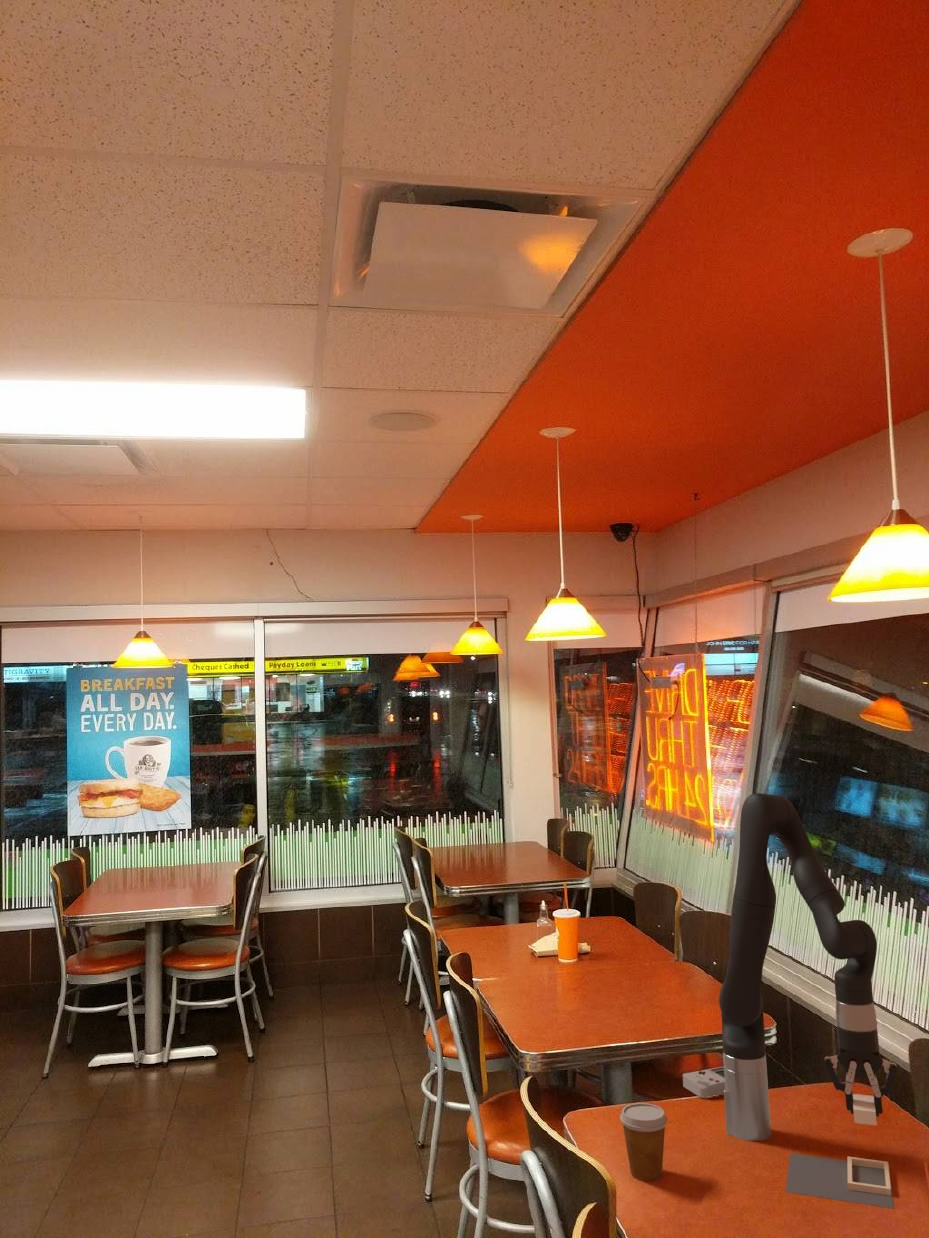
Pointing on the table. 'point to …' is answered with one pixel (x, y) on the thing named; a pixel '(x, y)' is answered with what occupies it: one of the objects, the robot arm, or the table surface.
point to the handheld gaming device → (705, 1082)
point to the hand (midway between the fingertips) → (864, 1113)
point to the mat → (841, 1179)
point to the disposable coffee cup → (644, 1139)
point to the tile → (864, 1109)
